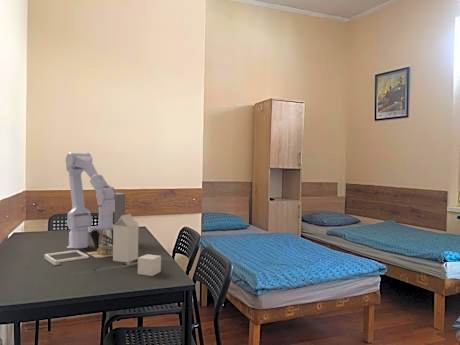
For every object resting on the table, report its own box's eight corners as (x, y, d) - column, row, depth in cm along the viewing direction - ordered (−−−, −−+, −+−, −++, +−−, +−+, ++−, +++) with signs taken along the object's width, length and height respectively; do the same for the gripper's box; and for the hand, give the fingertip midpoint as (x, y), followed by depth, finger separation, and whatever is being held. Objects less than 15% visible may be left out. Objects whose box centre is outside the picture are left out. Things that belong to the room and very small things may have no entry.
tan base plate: (85, 254, 164) (86, 241, 164) (112, 251, 172) (112, 238, 172) (97, 260, 156) (97, 246, 155) (124, 256, 163) (124, 243, 163)
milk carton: (138, 260, 156) (138, 214, 156) (128, 265, 150) (128, 216, 149) (123, 259, 159) (123, 213, 158) (112, 263, 152) (113, 215, 151)
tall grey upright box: (100, 242, 189) (101, 192, 189) (112, 241, 193) (113, 192, 193) (112, 247, 179) (113, 194, 178) (125, 246, 183) (125, 194, 182)
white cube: (152, 276, 136) (152, 259, 136) (137, 274, 138) (137, 257, 138) (160, 271, 142) (161, 255, 141) (146, 270, 144) (147, 254, 144)
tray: (44, 258, 157) (44, 254, 157) (77, 254, 166) (77, 249, 166) (54, 265, 147) (54, 260, 147) (88, 260, 156) (89, 255, 156)
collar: (97, 252, 164) (97, 245, 164) (108, 251, 167) (108, 243, 167) (103, 256, 159) (104, 247, 159) (115, 254, 162) (115, 246, 162)
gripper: (92, 217, 156) (92, 251, 156) (125, 215, 165) (125, 246, 166) (86, 216, 161) (85, 248, 161) (118, 213, 171) (118, 243, 171)
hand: (105, 247), depth 164 cm, fingers open, 7 cm apart
